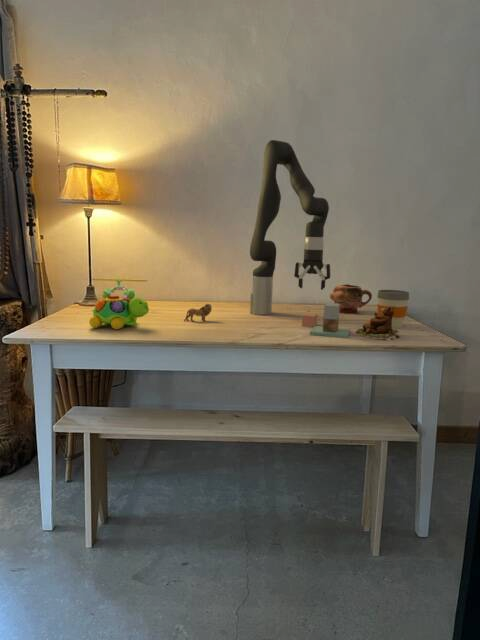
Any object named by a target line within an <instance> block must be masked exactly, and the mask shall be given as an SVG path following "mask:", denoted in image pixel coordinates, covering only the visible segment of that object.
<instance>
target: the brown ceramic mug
mask: <svg viewBox="0 0 480 640" xmlns="http://www.w3.org/2000/svg"><path fill="white" fill-rule="evenodd" d="M364 295H367V296H368V299H367V300H366V301H363V296H364ZM372 297H373V295H372V292H371V291H370V290H367V289H362V287H361V286H358V285H353V284H352V285H351V284H348V283H347V284H340V285H339V284H338V285H335V286H334V288H333V290H332V292H331V293H330V294H329V298H330V300H332V301H333V303H336V304H340V309H339V314H346V315H347V314H348V315H349V314H351V315H352V314H353V315H356V314H357V313H358V308H359V309H361V308H362V307H364V306H366V305H367V304H369V302H370V301H371V300H372V299H373V298H372Z"/></svg>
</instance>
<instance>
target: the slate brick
mask: <svg viewBox="0 0 480 640" xmlns="http://www.w3.org/2000/svg"><path fill="white" fill-rule="evenodd" d="M339 309H340V304H336V303H335V302H326V303H325V304H324V306H323V319H324V318H325V319H338V317H339V318H340V313H339Z"/></svg>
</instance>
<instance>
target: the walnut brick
mask: <svg viewBox="0 0 480 640" xmlns="http://www.w3.org/2000/svg"><path fill="white" fill-rule="evenodd" d="M339 321H340V316H339V317H338V319H325V318H324V317H323V322H322V324H323V325H322V327H323V331H325V332H337V330H338V328H339V324H340V323H339Z"/></svg>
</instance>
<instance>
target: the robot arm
mask: <svg viewBox="0 0 480 640" xmlns="http://www.w3.org/2000/svg"><path fill="white" fill-rule="evenodd" d="M262 165H263V168H262V179H261V188H260V193H259V197H258V198H259V199H258V207H257V214H256V220H255V225H254V229H253V234H252V238H251V242H250V248H249V256H250V258H251V260H252V261H254V262H260V263H261V264H260V265H259V266H257V267H256V268H254V269H253V270H252V287H251V290H252V291H251V292H250V306H249V307H250V309H249V313H250V314H253V315H259V316H269V315H272V312H273V311H272V310H273V309H272V308H273V307H272V306H273V287H274V286H273V285H274V284H273V283H274V274H275V270H276V262H277V261H276V259H277V246H276V244H275V242H274V241H272V240H266V235H267V231H268V229H269V228H270V226H271V225H272V224H273V222H274V221H275V219H276V217H278V214H279V211H280V206H281V199H282V195H281V190H280V187H279V184H278V180H277V167H278V165H279V166H283V167H284V168H285V169H286V170H287V171H288V173H289V181H290V186H291V187H292V190H293V191H294V193H295V194H296V195H297V197H298V198H299V203H300V206H301V209H302V210H303V212H304V213H305V214H306V215H307V216H312V217H313V218H312V221H309V222H307V223H306V226H305V239H304V247H303V262H296V263H295V267H294V277H295V278H297V280H298V284H297V285H298V288H300V289H303V284H304V282H303V281H304V279H303V278H304V276H306V274H308V275H311V274H313V275H317V274H318V276H319V277H320V279H321V281H320V290H324V289H325V288H326V280H330V279H331V263H324V262H323V259H324V249H325V248H324V234H325V233H324V232H325V231H324V229H325V225H326V220H327V217H328V215H329V211H330V207H329V202H328V201H327V199H326V198H325V197H316V196H314V195H315V193H316V189H315V187H314V185H313V184H312V183H311V181H310V180H309V178H308V177H307V175H306V173H305V172H304V170H303V168H302V166H301V164H300V162H299V159H298V157H297V155H296V153H295V150H294V148H293V147H292V145H291V144H290V143H289V142H286V141H282V140H277V139H276V140H275V139H271V140H269V141H268V142H267V144H266V145H265V147H264V154H263V164H262ZM301 267H302V268H303V269H304V270H303V271H302V272H301V274H299V273H300V269H301ZM322 269H325V270H326V275H325V274H324V273H323V271H322Z"/></svg>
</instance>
